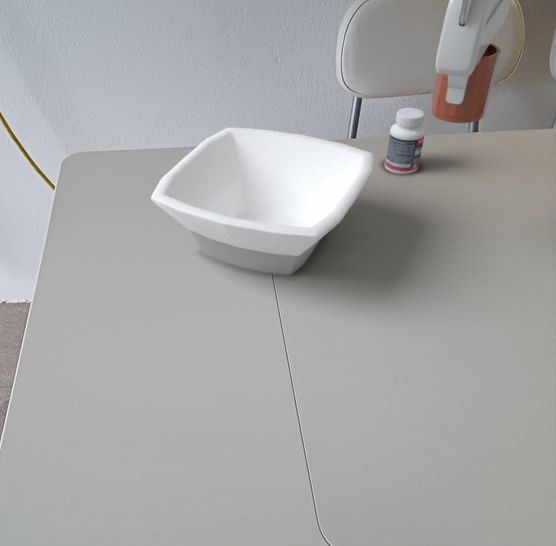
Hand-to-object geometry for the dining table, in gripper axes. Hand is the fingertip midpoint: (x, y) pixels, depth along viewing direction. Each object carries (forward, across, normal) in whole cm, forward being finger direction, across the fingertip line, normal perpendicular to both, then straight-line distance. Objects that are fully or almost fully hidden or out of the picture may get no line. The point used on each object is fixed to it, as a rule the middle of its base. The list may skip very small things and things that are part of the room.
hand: (462, 89), depth 73 cm
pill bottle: (+21, +20, +9) cm, 31 cm away
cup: (+3, 0, 0) cm, 3 cm away
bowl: (+21, -8, +20) cm, 30 cm away
